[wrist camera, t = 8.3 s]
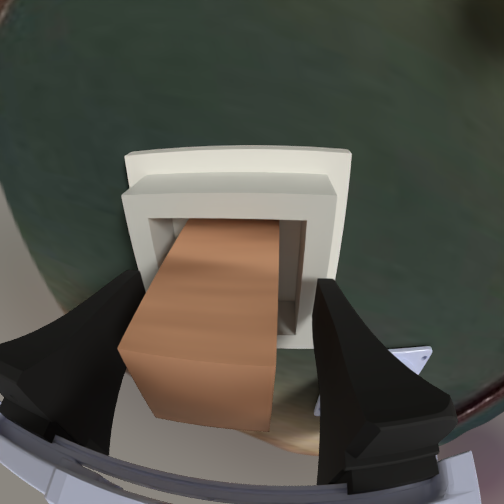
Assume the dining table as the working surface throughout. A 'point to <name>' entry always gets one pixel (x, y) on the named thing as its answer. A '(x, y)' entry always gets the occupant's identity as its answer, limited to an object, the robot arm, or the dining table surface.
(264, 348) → the peg
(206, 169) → the socket
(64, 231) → the dining table surface
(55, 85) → the dining table surface
